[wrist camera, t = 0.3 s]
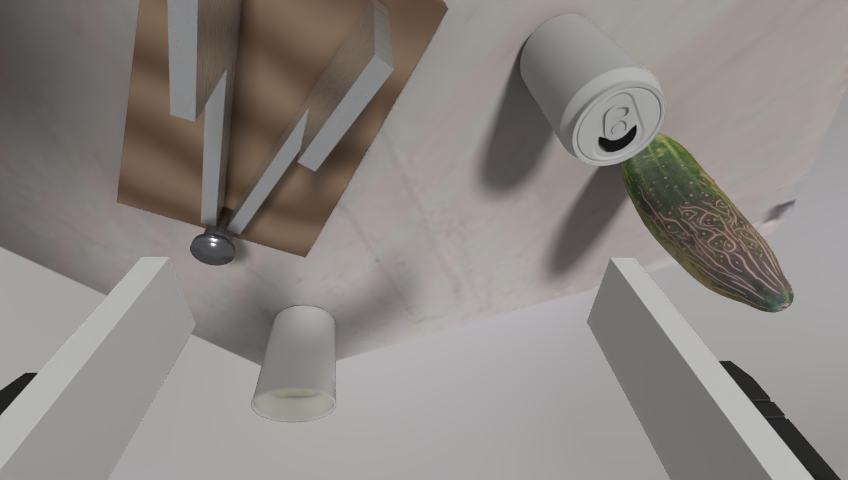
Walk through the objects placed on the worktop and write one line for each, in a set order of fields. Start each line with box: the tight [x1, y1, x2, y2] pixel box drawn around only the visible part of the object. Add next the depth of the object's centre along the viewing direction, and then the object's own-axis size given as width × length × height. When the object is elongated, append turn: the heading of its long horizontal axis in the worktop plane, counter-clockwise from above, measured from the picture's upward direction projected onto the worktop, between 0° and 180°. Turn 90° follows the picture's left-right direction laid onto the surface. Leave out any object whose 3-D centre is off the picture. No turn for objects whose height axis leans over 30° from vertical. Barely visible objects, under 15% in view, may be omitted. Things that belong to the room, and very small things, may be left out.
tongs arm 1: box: [167, 0, 242, 226], centre depth 27 cm, size 23×1×10 cm, turn 158°
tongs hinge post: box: [190, 207, 235, 265], centre depth 38 cm, size 4×4×5 cm
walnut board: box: [117, 0, 448, 257], centre depth 34 cm, size 29×18×2 cm, turn 149°
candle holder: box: [251, 305, 336, 422], centre depth 53 cm, size 10×10×12 cm
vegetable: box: [621, 133, 794, 312], centre depth 34 cm, size 6×6×20 cm
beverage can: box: [520, 14, 666, 166], centre depth 29 cm, size 6×6×12 cm
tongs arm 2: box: [227, 0, 394, 235], centre depth 30 cm, size 23×1×10 cm, turn 140°
